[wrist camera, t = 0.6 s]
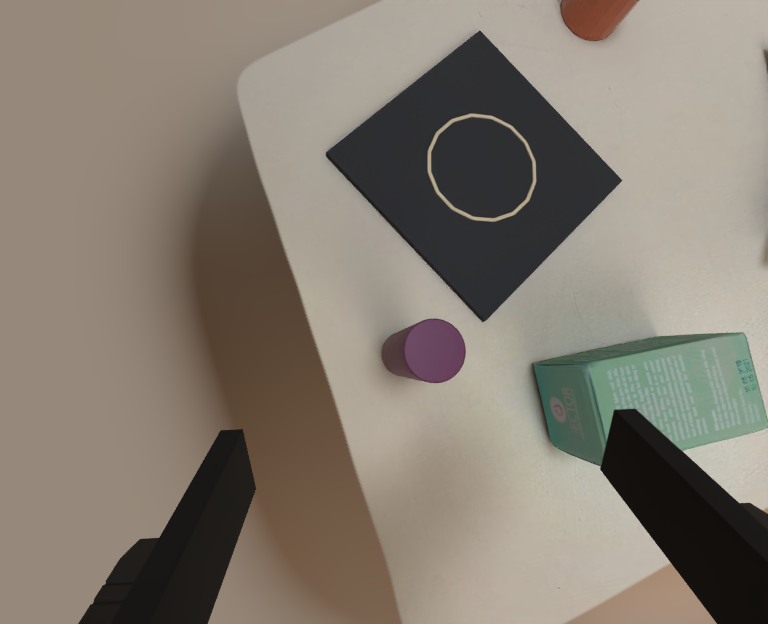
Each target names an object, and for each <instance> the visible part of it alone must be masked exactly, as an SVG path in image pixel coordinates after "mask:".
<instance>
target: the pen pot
mask: <svg viewBox="0 0 768 624" xmlns="http://www.w3.org/2000/svg"><path fill="white" fill-rule="evenodd" d="M639 1H640V0H563V1H562V5H561V11H562V16H563V19H564V21H565V23H566V25H567V26H568V27H569V28H570V30H571V31H572V32H574V33H575V34H576V35H578V36H579V37H581V38H584V39H587V40H593V41H596V40H602V39H604V38H606V37H608V36H609V35H610V34H611V33H612V32H613V31H614V30H615V29H616V28H617V27H618V26H619V24H620V23H621V22H622V21H623V20H624V18H625V17H626V16H627V15H628V14H629V13H630V11H631V10H632V9H633V8H634V7H635V6H636V4H637V3H638V2H639Z"/></svg>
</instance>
